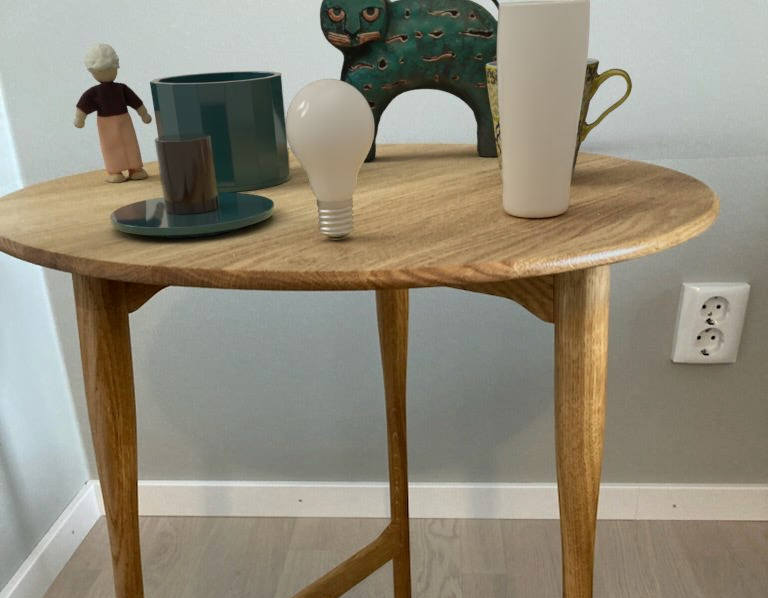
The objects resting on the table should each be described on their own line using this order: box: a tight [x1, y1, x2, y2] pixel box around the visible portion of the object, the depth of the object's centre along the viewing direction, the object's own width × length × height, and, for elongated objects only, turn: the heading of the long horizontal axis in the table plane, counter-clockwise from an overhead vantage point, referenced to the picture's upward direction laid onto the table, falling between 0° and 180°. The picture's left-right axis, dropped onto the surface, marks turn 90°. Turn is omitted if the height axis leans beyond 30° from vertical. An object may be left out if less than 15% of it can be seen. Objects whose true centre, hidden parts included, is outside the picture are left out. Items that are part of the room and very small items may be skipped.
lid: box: [109, 133, 276, 239], centre depth 74 cm, size 13×13×7 cm
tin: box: [149, 70, 291, 193], centre depth 90 cm, size 12×12×10 cm
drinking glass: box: [497, 0, 591, 219], centre depth 70 cm, size 7×7×15 cm
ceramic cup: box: [486, 57, 633, 182], centre depth 83 cm, size 13×10×10 cm
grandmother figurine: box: [73, 42, 153, 183], centre depth 92 cm, size 8×4×13 cm, turn 130°
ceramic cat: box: [319, 0, 500, 163], centre depth 95 cm, size 20×6×20 cm, turn 88°
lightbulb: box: [285, 78, 375, 241], centre depth 66 cm, size 6×6×11 cm
